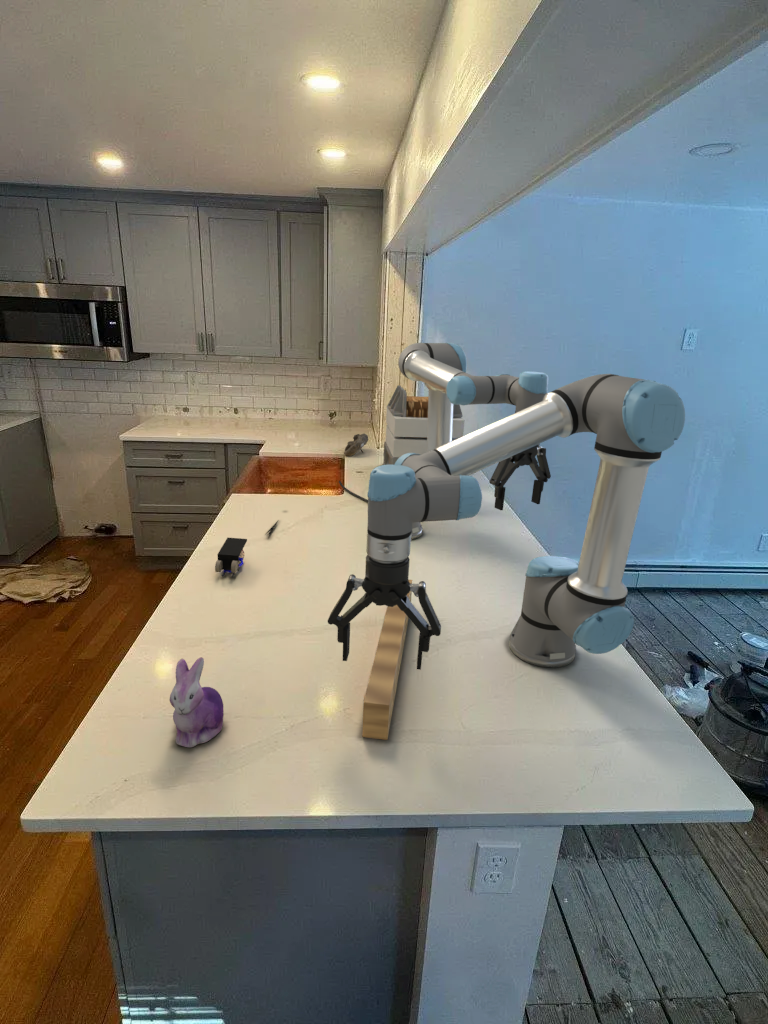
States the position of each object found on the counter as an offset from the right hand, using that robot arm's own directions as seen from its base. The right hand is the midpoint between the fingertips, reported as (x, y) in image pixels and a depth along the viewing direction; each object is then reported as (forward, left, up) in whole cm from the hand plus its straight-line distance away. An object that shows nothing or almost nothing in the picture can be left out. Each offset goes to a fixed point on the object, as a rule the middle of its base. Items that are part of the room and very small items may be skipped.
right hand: (382, 661), depth 104 cm
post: (-14, -15, -14) cm, 25 cm away
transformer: (-115, -135, -14) cm, 178 cm away
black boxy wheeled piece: (0, -77, -14) cm, 78 cm away
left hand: (-66, -30, +10) cm, 73 cm away
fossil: (-109, -182, -14) cm, 213 cm away
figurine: (+30, -15, -14) cm, 36 cm away
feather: (-26, -104, -14) cm, 109 cm away
